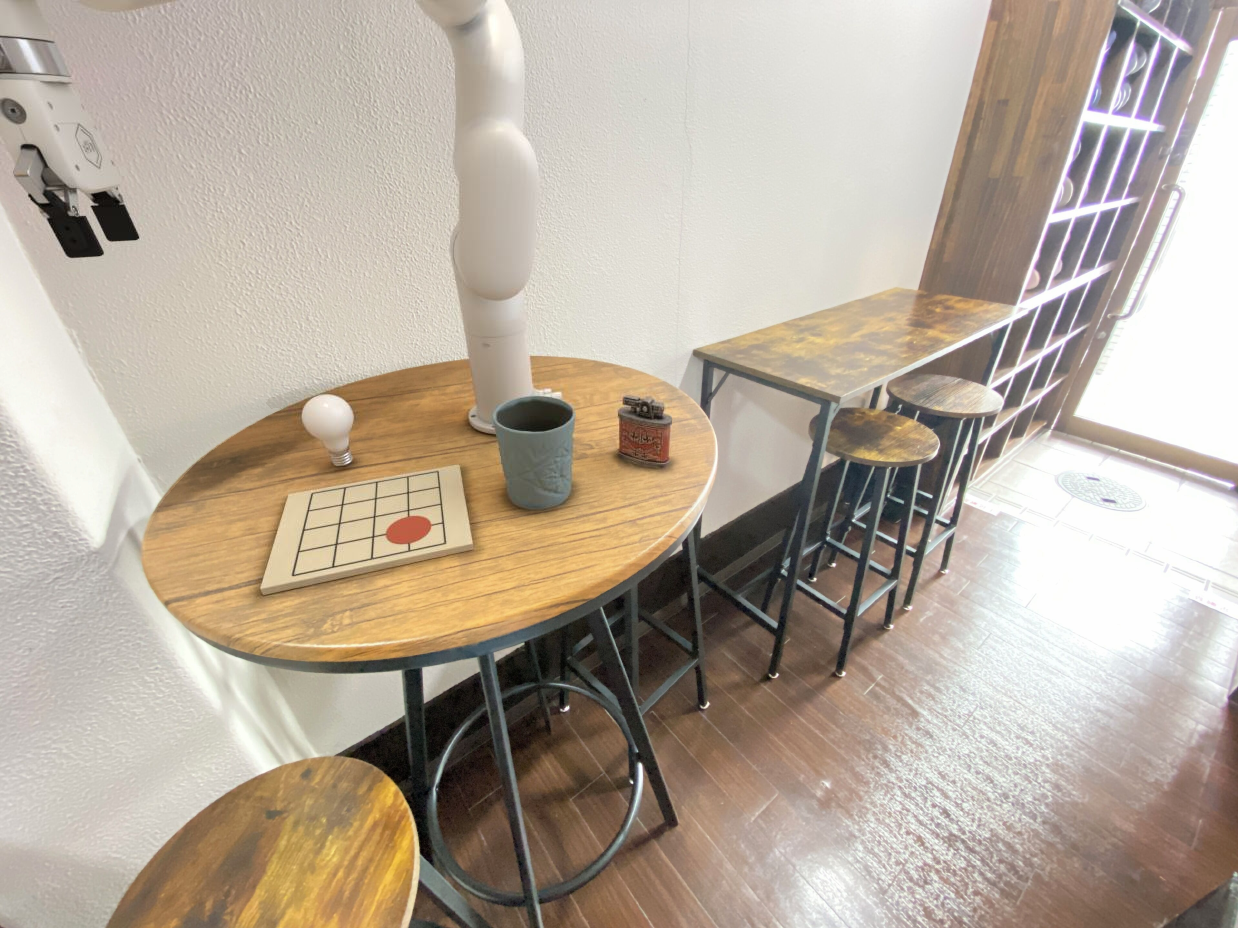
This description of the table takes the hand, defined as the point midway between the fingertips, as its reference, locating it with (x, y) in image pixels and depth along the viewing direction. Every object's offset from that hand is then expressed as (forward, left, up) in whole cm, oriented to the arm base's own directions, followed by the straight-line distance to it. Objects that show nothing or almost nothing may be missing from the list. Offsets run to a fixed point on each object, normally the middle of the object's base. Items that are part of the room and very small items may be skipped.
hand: (106, 248), depth 62 cm
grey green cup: (-44, +22, -30) cm, 58 cm away
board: (-23, +22, -30) cm, 44 cm away
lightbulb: (-18, +6, -30) cm, 36 cm away
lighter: (-60, +19, -30) cm, 70 cm away
